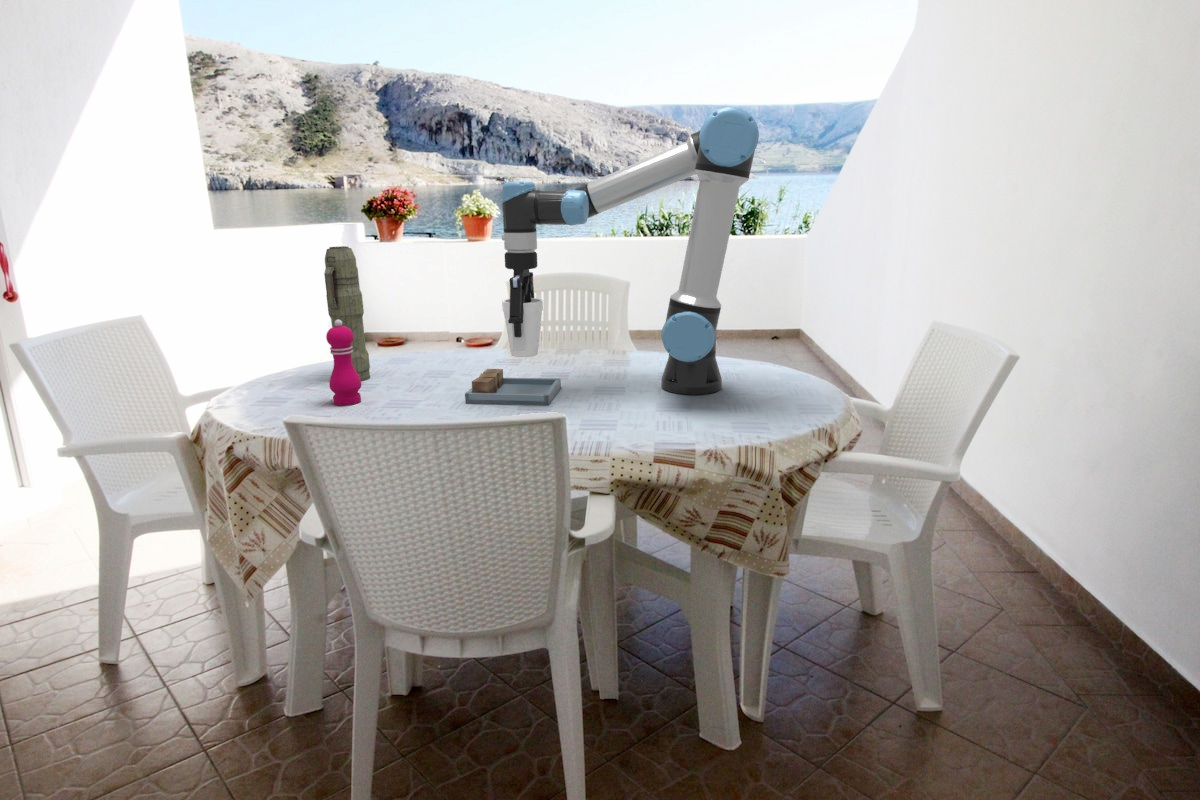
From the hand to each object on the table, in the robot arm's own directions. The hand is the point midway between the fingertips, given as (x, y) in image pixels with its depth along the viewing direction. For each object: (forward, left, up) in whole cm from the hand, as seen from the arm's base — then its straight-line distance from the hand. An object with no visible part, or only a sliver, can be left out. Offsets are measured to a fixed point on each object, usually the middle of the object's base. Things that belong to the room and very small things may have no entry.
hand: (524, 346), depth 171 cm
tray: (+3, 0, -12) cm, 13 cm away
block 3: (+9, -4, -11) cm, 15 cm away
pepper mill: (+42, +9, -13) cm, 45 cm away
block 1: (+9, +5, -11) cm, 15 cm away
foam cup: (0, 0, -2) cm, 2 cm away
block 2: (+9, 0, -11) cm, 15 cm away
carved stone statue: (+51, -13, -13) cm, 54 cm away
